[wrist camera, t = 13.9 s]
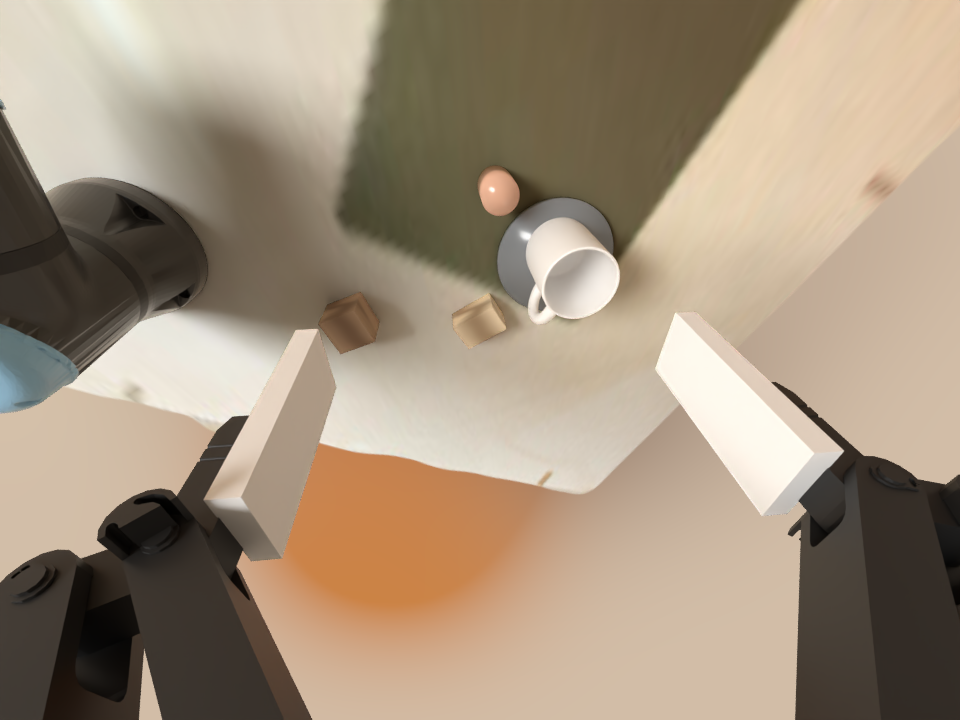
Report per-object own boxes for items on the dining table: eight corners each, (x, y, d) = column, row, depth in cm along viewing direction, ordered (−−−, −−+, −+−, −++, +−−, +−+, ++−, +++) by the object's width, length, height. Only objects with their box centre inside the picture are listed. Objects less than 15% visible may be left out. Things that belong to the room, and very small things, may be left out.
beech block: (467, 333, 56) (468, 349, 52) (452, 313, 53) (453, 328, 50) (502, 313, 54) (506, 328, 51) (488, 292, 52) (492, 307, 49)
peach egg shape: (477, 203, 44) (481, 216, 40) (477, 165, 42) (481, 175, 38) (511, 202, 45) (518, 215, 41) (512, 165, 42) (520, 174, 38)
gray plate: (495, 310, 53) (496, 313, 53) (498, 198, 44) (499, 200, 44) (598, 305, 54) (600, 308, 54) (622, 195, 45) (625, 197, 45)
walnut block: (347, 333, 54) (340, 354, 50) (327, 304, 51) (318, 324, 47) (379, 321, 53) (374, 341, 49) (360, 291, 50) (354, 310, 46)
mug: (547, 310, 53) (567, 353, 45) (497, 286, 50) (508, 328, 42) (602, 234, 47) (637, 268, 39) (549, 202, 44) (574, 232, 36)
